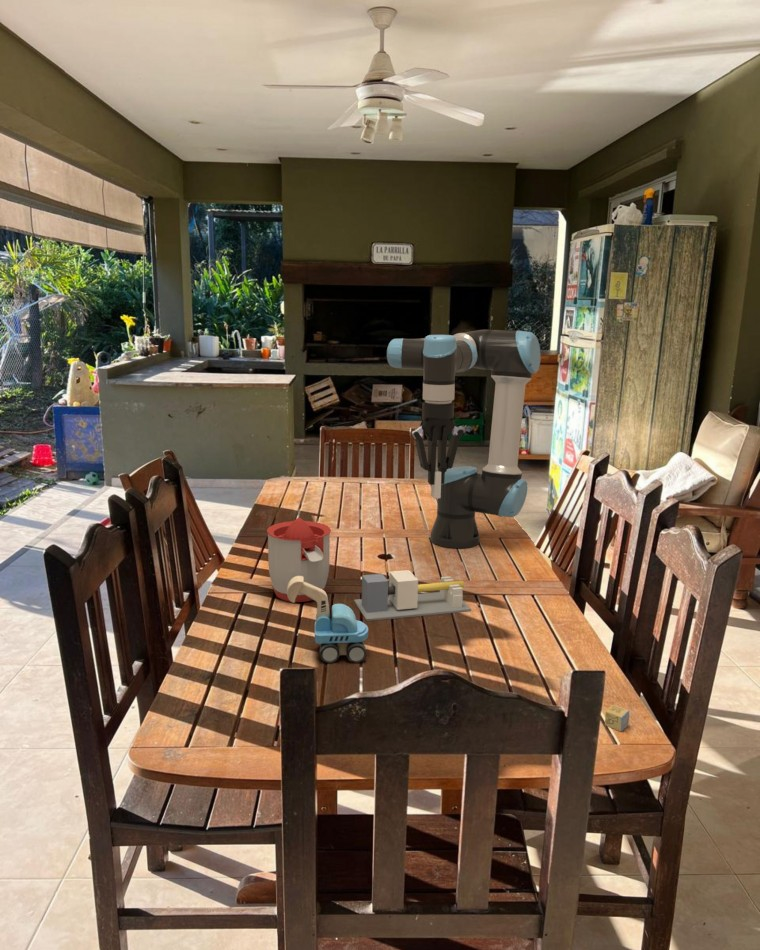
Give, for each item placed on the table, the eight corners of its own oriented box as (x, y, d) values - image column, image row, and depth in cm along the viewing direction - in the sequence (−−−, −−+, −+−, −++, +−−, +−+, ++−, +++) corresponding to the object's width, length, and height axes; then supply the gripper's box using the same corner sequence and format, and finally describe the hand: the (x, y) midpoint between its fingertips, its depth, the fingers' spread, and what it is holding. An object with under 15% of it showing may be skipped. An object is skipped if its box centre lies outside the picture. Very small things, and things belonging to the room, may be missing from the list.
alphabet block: (620, 732, 131) (622, 716, 130) (604, 725, 133) (605, 710, 132) (628, 725, 133) (630, 710, 133) (611, 719, 135) (613, 703, 135)
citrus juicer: (287, 614, 177) (286, 532, 173) (257, 590, 192) (256, 514, 187) (345, 601, 185) (346, 523, 181) (312, 579, 200) (312, 506, 195)
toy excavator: (288, 646, 161) (287, 569, 157) (366, 644, 162) (367, 569, 159) (286, 664, 153) (286, 585, 149) (369, 663, 154) (370, 584, 150)
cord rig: (453, 592, 192) (454, 562, 191) (471, 611, 181) (473, 579, 179) (354, 601, 185) (354, 570, 184) (366, 621, 174) (367, 588, 172)
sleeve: (408, 596, 186) (409, 570, 185) (417, 607, 180) (418, 580, 178) (388, 598, 185) (389, 571, 184) (397, 609, 179) (397, 581, 177)
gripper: (457, 398, 185) (454, 491, 190) (407, 399, 181) (405, 494, 187) (470, 402, 178) (466, 499, 183) (417, 404, 174) (415, 503, 180)
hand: (435, 496), depth 185 cm, fingers closed
